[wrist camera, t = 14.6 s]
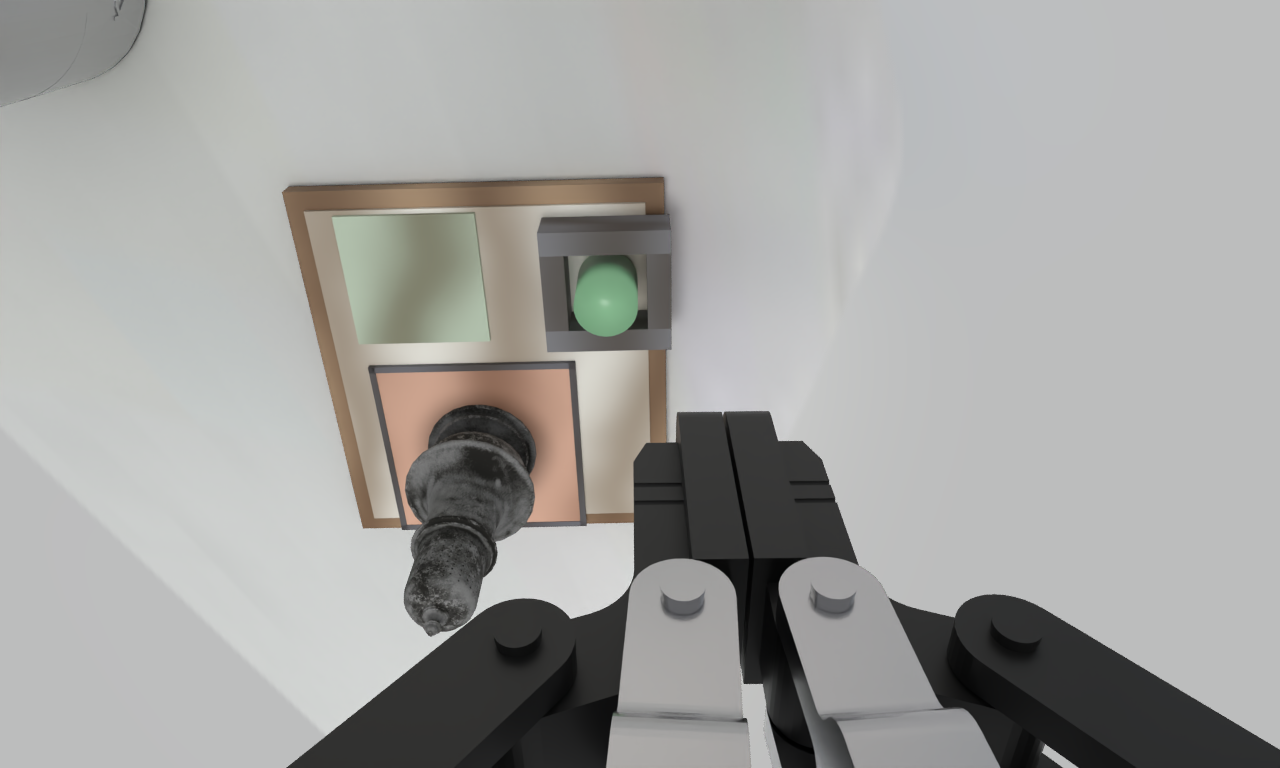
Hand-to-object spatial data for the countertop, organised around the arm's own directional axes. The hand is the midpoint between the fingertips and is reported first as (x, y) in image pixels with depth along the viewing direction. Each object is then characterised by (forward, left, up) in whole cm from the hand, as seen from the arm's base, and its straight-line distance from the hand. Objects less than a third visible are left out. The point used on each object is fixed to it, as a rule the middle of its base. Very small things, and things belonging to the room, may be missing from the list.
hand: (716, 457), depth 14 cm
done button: (-3, -6, -22) cm, 23 cm away
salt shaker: (-9, -15, -23) cm, 29 cm away
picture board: (-8, -11, -24) cm, 27 cm away
